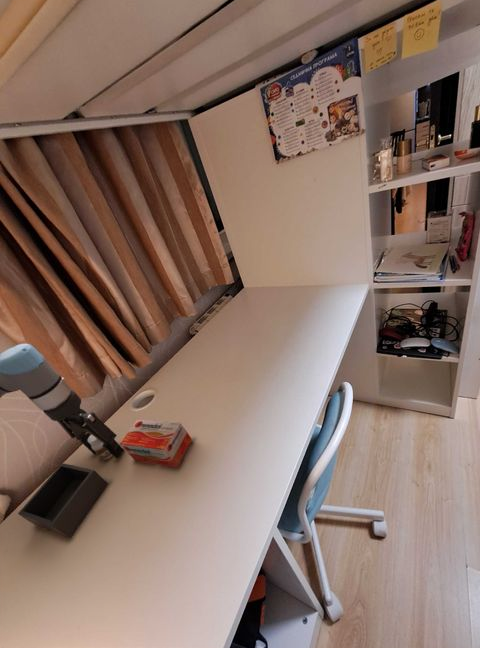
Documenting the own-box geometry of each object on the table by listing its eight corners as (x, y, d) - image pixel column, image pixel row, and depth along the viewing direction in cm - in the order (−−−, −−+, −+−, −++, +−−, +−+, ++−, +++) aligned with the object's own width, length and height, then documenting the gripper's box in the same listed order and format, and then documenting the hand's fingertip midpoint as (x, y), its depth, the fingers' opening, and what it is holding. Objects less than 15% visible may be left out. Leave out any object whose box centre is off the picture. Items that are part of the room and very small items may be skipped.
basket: (36, 525, 70) (17, 513, 67) (76, 475, 80) (61, 462, 76) (70, 538, 65) (51, 526, 62) (108, 483, 75) (94, 469, 71)
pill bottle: (104, 463, 81) (87, 446, 77) (100, 454, 84) (84, 438, 80) (118, 451, 83) (103, 435, 78) (114, 443, 86) (99, 427, 82)
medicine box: (193, 440, 79) (181, 421, 74) (179, 468, 72) (164, 450, 68) (150, 436, 84) (136, 418, 80) (133, 462, 78) (117, 444, 74)
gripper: (97, 389, 70) (144, 444, 82) (44, 386, 78) (93, 437, 90) (73, 414, 64) (127, 469, 76) (18, 408, 72) (74, 459, 85)
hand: (108, 452), depth 83 cm, fingers open, 8 cm apart
